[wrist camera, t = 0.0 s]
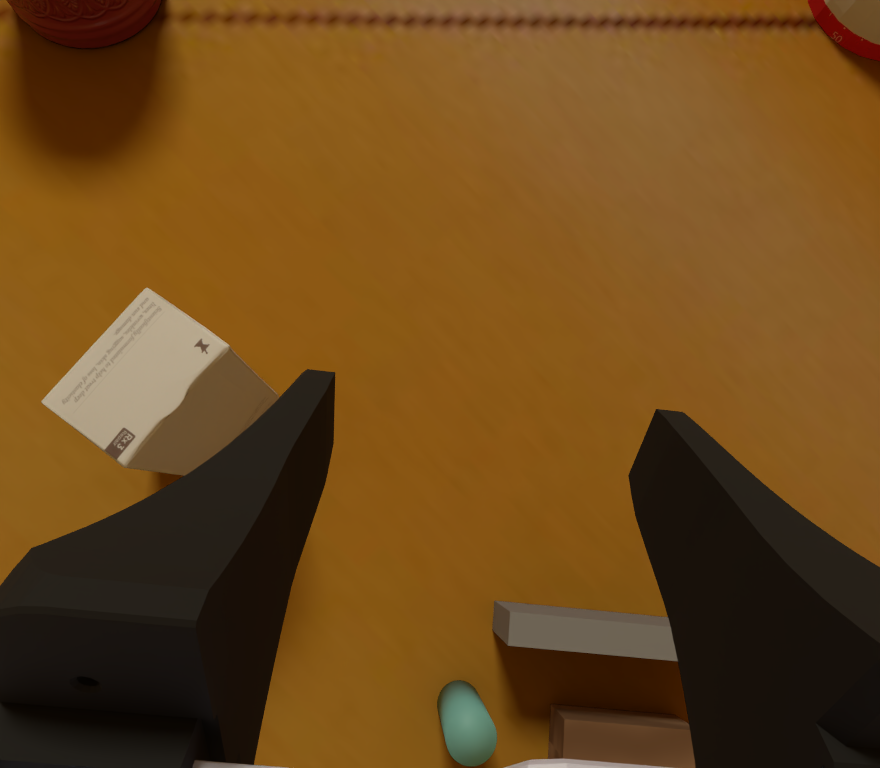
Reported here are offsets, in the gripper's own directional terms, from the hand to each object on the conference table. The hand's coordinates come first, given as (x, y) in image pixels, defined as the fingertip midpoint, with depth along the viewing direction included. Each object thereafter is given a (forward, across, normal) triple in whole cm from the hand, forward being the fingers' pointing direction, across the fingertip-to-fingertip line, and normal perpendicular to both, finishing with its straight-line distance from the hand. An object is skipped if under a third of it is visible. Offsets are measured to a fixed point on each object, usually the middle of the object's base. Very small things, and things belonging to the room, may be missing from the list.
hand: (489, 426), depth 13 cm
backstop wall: (+15, -16, +29) cm, 37 cm away
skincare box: (+24, +16, +22) cm, 36 cm away
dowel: (+11, -4, +33) cm, 35 cm away
